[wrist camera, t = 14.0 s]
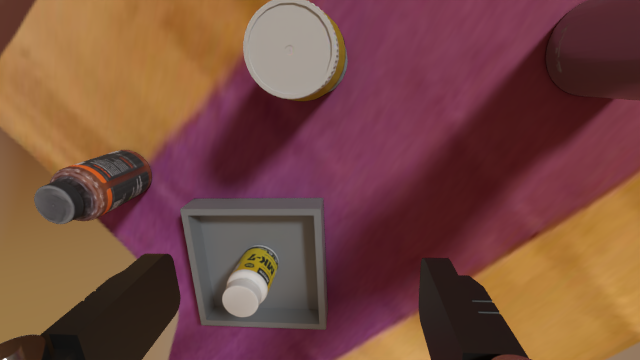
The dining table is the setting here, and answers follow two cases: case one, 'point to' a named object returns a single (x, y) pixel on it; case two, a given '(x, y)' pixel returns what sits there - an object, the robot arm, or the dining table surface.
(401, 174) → the dining table surface
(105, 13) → the dining table surface
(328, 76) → the bottle
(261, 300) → the supplement bottle
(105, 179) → the supplement bottle
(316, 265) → the tray
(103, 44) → the dining table surface
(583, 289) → the dining table surface
